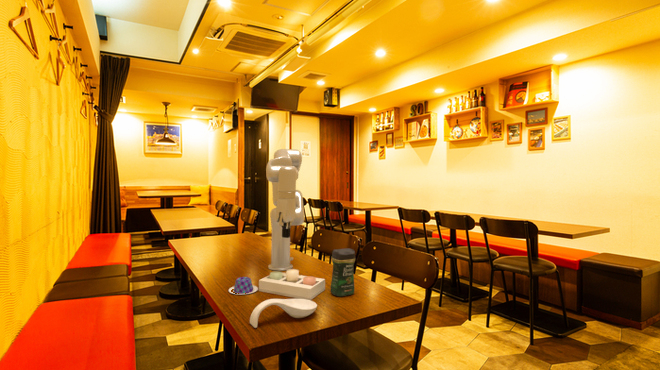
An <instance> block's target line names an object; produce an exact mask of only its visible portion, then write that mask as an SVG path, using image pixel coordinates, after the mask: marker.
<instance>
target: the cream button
mask: <svg viewBox="0 0 660 370" xmlns="http://www.w3.org/2000/svg"><path fill="white" fill-rule="evenodd" d="M299 272H300V270H299V269H295V268H292V269H289V270H285V273H286V282H292V283H296V282H298V281H299V275H300V274H299Z"/></svg>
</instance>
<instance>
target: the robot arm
mask: <svg viewBox="0 0 660 370" xmlns="http://www.w3.org/2000/svg"><path fill="white" fill-rule="evenodd" d="M302 161H303V155H302V153H301V151H300V149H299V150H298V149H292V148H291V149H290V148H289V149H287V148H281V149H277V150H276V151H275V152H274V154H273V158H271V159H270V160H269V161H268V162H267V164H266V167H265V171H266V172H265V173H266V179H267V181H268V182H270V183H271V187H272V202H273V205H274V206H275V207H273V208H272V209H271V210H270V215H269V216H270V218H269V219H270V225H271V258H270V259H271V263H269V264H268V267H267V268H268V270H271V271H279V272H282V271H287V270H289V269H294V268H293V267H294V266H293V264H292V263H291V261H293V260H294V257H293V256H291V227H292V226H302V225H303V224H304V222H305V210H304V209H305V208H304V197H303V193H302V192H301V191H300V190H299V189H297V180H298V179H299V172H300V169H301V166H302Z"/></svg>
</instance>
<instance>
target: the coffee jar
mask: <svg viewBox="0 0 660 370" xmlns="http://www.w3.org/2000/svg"><path fill="white" fill-rule="evenodd" d="M331 254H332V255H331V261H332V273H331V274H332V275H331V281H330V282H331V283H330V293H331V294H332V295H334V296H337V297H345V296H351V295H354V294H355V277H354V275H355V274H354V273H355V272H354V269H355V268H354V265H355V262H356V252H355V250H354V249H352V248H349V247H348V248H339V249H333V250H332V252H331Z"/></svg>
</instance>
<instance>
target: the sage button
mask: <svg viewBox="0 0 660 370" xmlns="http://www.w3.org/2000/svg"><path fill="white" fill-rule="evenodd" d="M282 273H283V272H282V271H275V270H273V271H272V272H269V275H270V279H274V280H280V279H282Z"/></svg>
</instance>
